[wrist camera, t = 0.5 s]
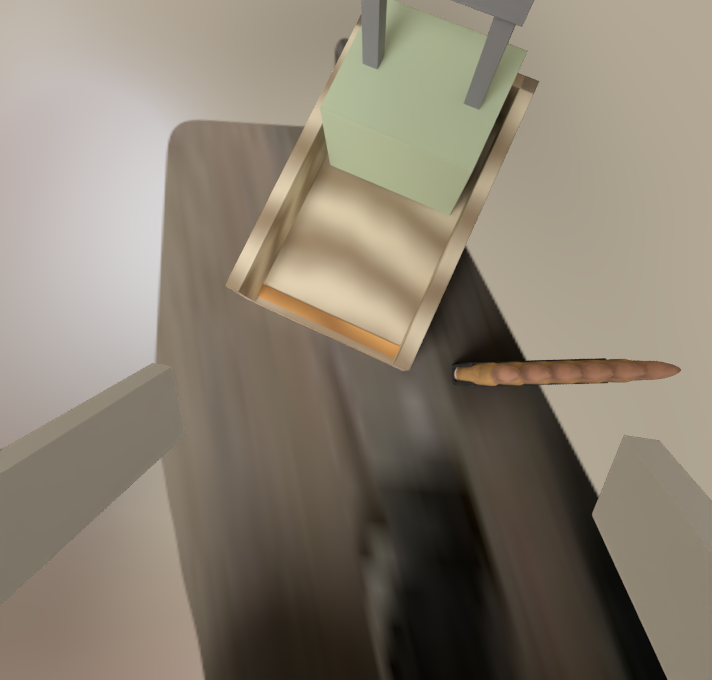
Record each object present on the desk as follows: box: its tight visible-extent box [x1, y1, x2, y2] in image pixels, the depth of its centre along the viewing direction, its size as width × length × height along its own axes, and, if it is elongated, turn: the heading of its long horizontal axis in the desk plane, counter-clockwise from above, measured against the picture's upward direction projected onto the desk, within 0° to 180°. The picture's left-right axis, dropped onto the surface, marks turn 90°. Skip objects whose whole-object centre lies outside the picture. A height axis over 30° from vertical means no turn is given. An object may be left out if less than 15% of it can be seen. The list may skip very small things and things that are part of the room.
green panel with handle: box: [320, 0, 534, 215], centre depth 25 cm, size 10×12×16 cm
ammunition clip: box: [452, 358, 681, 387], centre depth 26 cm, size 11×2×12 cm, turn 92°
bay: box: [225, 14, 539, 371], centre depth 31 cm, size 26×16×5 cm, turn 155°
